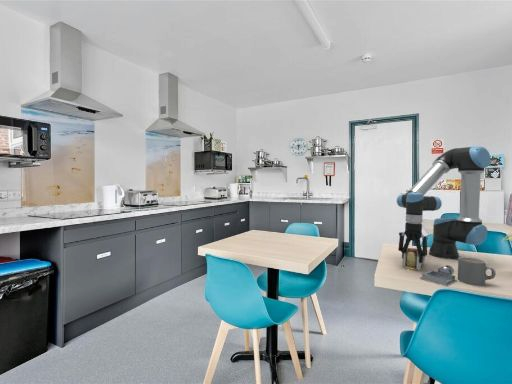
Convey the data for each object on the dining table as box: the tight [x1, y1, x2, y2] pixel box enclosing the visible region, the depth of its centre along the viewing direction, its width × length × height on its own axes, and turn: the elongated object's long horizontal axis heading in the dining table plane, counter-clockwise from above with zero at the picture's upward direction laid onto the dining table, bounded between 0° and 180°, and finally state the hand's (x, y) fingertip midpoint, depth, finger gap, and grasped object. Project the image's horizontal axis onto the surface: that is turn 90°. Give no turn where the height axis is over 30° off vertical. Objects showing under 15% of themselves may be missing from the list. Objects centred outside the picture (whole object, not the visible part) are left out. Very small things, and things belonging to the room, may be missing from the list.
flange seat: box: [419, 265, 458, 287], centre depth 131 cm, size 17×11×5 cm, turn 126°
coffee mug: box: [456, 256, 497, 287], centre depth 127 cm, size 13×10×10 cm
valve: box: [404, 248, 419, 271], centre depth 146 cm, size 6×6×10 cm
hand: (411, 266), depth 146 cm, fingers closed on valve, 6 cm apart
